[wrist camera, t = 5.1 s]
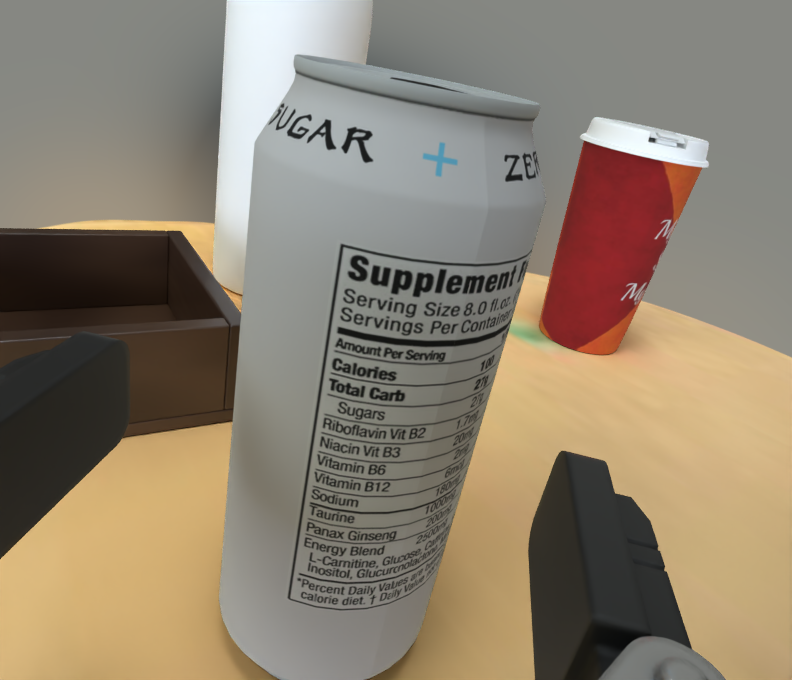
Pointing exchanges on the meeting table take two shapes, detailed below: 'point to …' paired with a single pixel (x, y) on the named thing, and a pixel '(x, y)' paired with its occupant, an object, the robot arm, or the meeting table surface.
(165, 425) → the walnut box
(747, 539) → the meeting table surface
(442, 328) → the energy drink can
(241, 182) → the bottle
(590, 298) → the paper cup
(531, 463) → the meeting table surface
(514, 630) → the meeting table surface
